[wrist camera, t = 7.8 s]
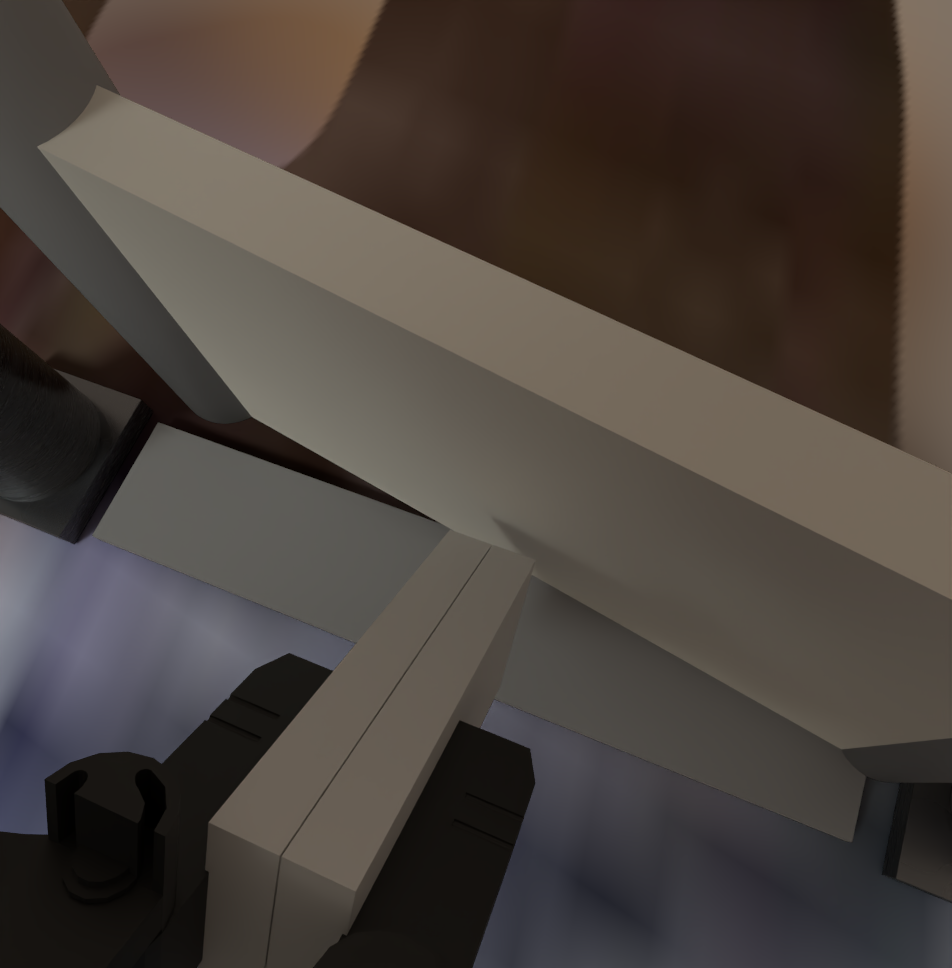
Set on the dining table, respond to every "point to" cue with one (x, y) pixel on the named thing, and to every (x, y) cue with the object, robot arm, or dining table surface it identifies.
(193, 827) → the robot arm
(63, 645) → the dining table surface
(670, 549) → the gate
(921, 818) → the hinge post
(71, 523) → the post
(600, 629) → the strip
